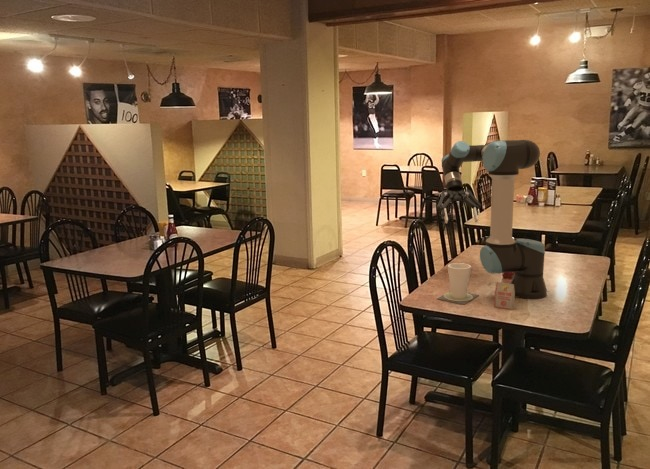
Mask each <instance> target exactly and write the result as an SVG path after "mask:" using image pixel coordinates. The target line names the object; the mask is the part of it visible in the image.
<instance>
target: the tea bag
mask: <svg viewBox="0 0 650 469" xmlns="http://www.w3.org/2000/svg"><path fill="white" fill-rule="evenodd" d="M515 298H516V296H515V290H514V284H511V283H507V282H499V281H496V284H495V291H494V306H493V307H494V308H497V309H503V310H508V311H509V310H510V311H512V310H513V309H514V308H515V301H516V300H515Z"/></svg>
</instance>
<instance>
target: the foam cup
mask: <svg viewBox="0 0 650 469" xmlns="http://www.w3.org/2000/svg"><path fill="white" fill-rule="evenodd" d="M447 272H448V280H449V289H450V291H451V296H452V297H454V298H465V297H466V295H467V293H468V291H469V284H470V277H471V273H472V265H471V264H468V263H463V262H454V263H453V262H452V263H449V264H448V265H447Z"/></svg>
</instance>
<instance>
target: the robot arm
mask: <svg viewBox="0 0 650 469" xmlns="http://www.w3.org/2000/svg"><path fill="white" fill-rule="evenodd" d="M540 156H541V150H540V147H539V145H538V144H536V142H534V141H532V140H529V139H517V140H516V139H515V140H514V139H512V140H511V139H510V140H508V139H507V140H502V139H501V140H496V141H495V140H494V141H491V142H489V143H488V144H477V145H475V144H473V145H472V144H471V145H469V144H468V143H467V142H466V141H462V140H458V141H456V142H455V143H454V144H453V146H452V147H451V149H450V151H449V153H448V154H446V155H444V156H443V157H442V158H441V167H442V168H441V169H442V173H443V177H444V181H445V187H446V191H444V190H441V193H440V198H439V201H438V203H437V205H436V211H439V212H440V213H441V216H442V217H444V218H443V219H444V223H445V224H448V222H449V217H448V213H447V207H448V205H449V204H450V203H451V202H452V201H453V202H463V203H465V205H467V206H469V207H470V208H471V209H472V213H473V218H474V219H473V220H474V223H478V220H479V217H478V216H479V214H480V213H479V210H480V209H481V208H482V204H481V203H480V201H479V200H478V199H477V198H476V197H475V196H474V194H473V193H472V191H471V190H470V189H469V190H468V191H465V190H464V185H463V182H462V181H463V180H462V176H461V172H460V171H461V170H460V168H461V166H462V164H463V163H467V162H468V163H472V162H482V164H483V168H484V169H485V170H486V171H487V172H488V174H487V175H488V177H490V178H491V197H490V198H491V199H490V229H489V230H490V231H489V232H490V233H489V237H488V238H486V240H485V245H483V246H482V247H481V249H480V251H479V260H480V263H481V266H482V267H483V269H484V270H485V271H486V272H487V273H488V274H492V275H493V274H498V275H499V274H505V273H513V277H512V279H511V281H510V284H514V290H515V298H516V297H517V298H522V299H531V300H533V299H535V300H536V299H542V298H545V297H547V294H548V293H547V291H548V289H547V286H546V282H545V280H544V269H545V268H544V267H545V254H546V250H545V249H546V248H545V244H544V243H543V242H541V241H538V240H534V239H529V238H517V239H514V238H513V220H514V219H513V218H514V200H515V199H514V194H515V179H516V178H517V177H518V176H519V173H520V172H519V171H520V170H524V169H525V170H526V169H529V168H531V167H534V166H535V165H536V164H537V163H538V162H539V160H540ZM446 196H447V197H448V198H447V199H446V201H445V202H444V203H443V201H444V198H446ZM442 203H443V204H442Z"/></svg>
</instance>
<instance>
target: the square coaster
mask: <svg viewBox="0 0 650 469" xmlns="http://www.w3.org/2000/svg"><path fill="white" fill-rule="evenodd" d="M479 296H480V295H479V294H476V293H471V292H467V295H466V297H465V298H454V297H452V296H451V290H450V291H447V293H444V294H443V295H440V296H438V297H437V299H436V300H437V301H438V300H439V301H443V302H447V303H453V304H458V305H462V306H464V305H466V304H468V303H471V302H472V301H473V300H474V299H477V298H478V297H479Z"/></svg>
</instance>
